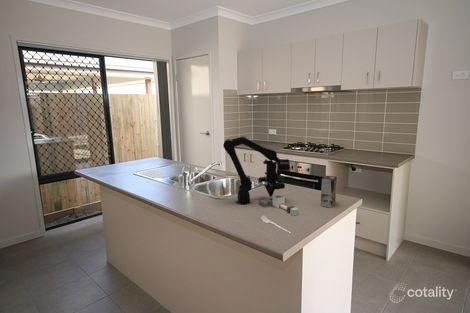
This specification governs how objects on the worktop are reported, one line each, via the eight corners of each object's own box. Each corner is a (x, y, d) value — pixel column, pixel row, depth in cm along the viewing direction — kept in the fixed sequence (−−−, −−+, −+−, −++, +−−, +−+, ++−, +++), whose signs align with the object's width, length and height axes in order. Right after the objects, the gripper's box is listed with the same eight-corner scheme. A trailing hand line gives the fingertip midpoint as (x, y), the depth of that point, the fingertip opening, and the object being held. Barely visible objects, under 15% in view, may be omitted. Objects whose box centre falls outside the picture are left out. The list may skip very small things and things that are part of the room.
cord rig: (259, 204, 165) (259, 199, 164) (280, 199, 172) (280, 194, 172) (284, 218, 145) (284, 212, 144) (307, 212, 152) (308, 206, 152)
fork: (288, 235, 128) (288, 231, 128) (259, 219, 144) (259, 216, 144) (293, 233, 130) (293, 229, 129) (264, 218, 146) (264, 214, 145)
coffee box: (331, 208, 158) (333, 180, 155) (320, 205, 161) (321, 178, 158) (335, 203, 165) (337, 176, 162) (324, 201, 169) (325, 174, 166)
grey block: (272, 205, 162) (272, 196, 161) (279, 203, 165) (279, 194, 164) (277, 208, 158) (278, 198, 157) (284, 206, 160) (284, 197, 159)
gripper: (292, 172, 160) (292, 198, 163) (272, 166, 176) (272, 190, 179) (276, 175, 155) (276, 202, 158) (257, 168, 171) (257, 193, 174)
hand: (270, 196), depth 167 cm, fingers closed
